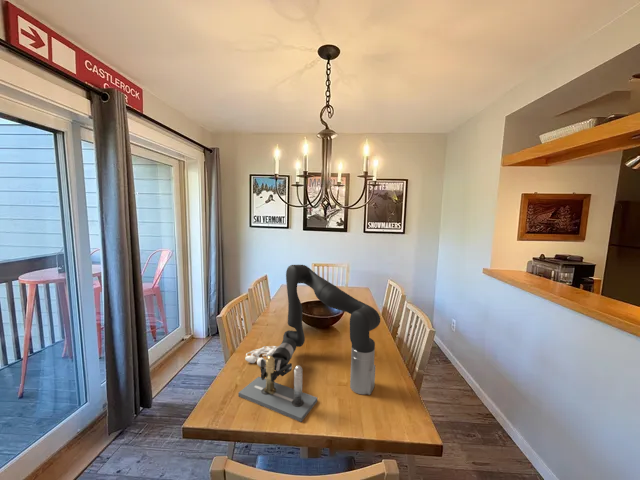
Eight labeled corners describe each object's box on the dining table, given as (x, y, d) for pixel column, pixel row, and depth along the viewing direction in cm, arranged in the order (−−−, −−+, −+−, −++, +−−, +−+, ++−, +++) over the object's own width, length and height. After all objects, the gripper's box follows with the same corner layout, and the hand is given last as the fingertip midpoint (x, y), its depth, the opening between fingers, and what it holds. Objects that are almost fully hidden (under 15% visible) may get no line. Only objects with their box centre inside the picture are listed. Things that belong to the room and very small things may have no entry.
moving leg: (276, 390, 110) (277, 355, 108) (271, 395, 107) (271, 359, 105) (268, 387, 112) (268, 352, 110) (263, 392, 109) (263, 356, 107)
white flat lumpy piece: (266, 347, 150) (265, 339, 150) (288, 352, 143) (288, 344, 143) (239, 363, 134) (239, 354, 133) (263, 369, 127) (262, 360, 126)
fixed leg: (303, 401, 104) (304, 365, 103) (299, 406, 102) (299, 369, 100) (296, 399, 106) (296, 362, 104) (292, 403, 103) (292, 366, 101)
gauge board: (317, 401, 107) (317, 397, 107) (301, 422, 96) (301, 417, 96) (258, 379, 119) (258, 376, 119) (238, 396, 109) (238, 392, 109)
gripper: (267, 345, 123) (249, 366, 107) (298, 348, 121) (285, 371, 104) (267, 361, 124) (249, 385, 107) (298, 365, 121) (285, 390, 105)
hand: (267, 378), depth 106 cm, fingers closed on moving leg, 3 cm apart
